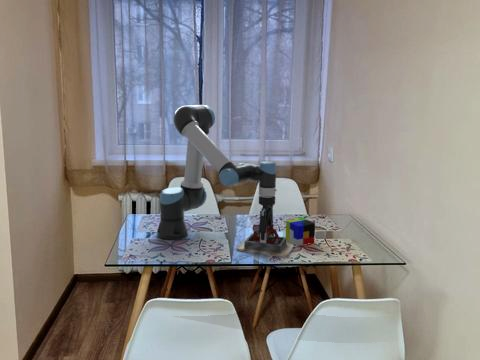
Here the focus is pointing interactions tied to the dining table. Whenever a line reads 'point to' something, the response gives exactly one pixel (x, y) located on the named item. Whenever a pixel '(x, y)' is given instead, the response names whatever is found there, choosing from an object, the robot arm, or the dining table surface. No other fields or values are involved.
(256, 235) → the toy fire truck
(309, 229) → the puzzle toy
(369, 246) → the dining table surface
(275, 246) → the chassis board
